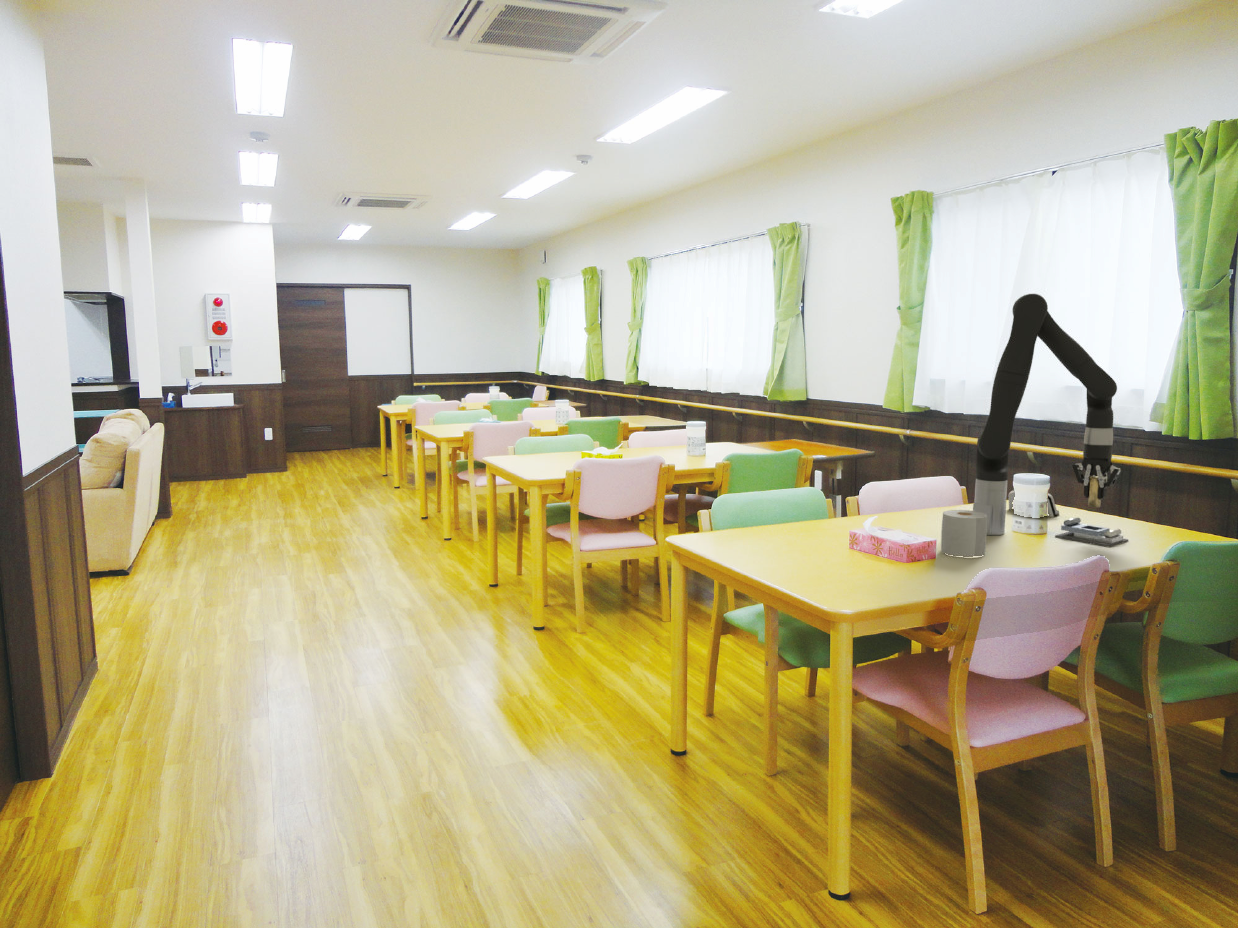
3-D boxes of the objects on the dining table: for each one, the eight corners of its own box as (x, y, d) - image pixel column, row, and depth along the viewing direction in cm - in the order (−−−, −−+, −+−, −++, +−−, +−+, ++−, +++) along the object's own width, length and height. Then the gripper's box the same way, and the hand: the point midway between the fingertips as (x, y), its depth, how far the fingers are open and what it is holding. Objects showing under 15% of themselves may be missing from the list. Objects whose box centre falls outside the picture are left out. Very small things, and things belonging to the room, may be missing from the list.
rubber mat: (1109, 547, 242) (1109, 545, 241) (1054, 536, 254) (1055, 535, 254) (1128, 541, 248) (1128, 539, 248) (1074, 531, 261) (1074, 530, 261)
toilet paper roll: (955, 559, 230) (957, 519, 228) (932, 549, 242) (934, 510, 240) (994, 557, 232) (996, 517, 230) (969, 547, 244) (971, 508, 242)
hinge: (1060, 515, 285) (1056, 489, 282) (1052, 521, 283) (1048, 495, 280) (1017, 507, 300) (1012, 483, 297) (1009, 513, 298) (1004, 488, 295)
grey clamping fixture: (1111, 543, 243) (1113, 528, 243) (1060, 534, 255) (1061, 519, 255) (1122, 540, 247) (1124, 524, 247) (1072, 531, 259) (1073, 516, 259)
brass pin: (1096, 507, 248) (1098, 478, 246) (1086, 506, 250) (1087, 477, 249) (1102, 506, 250) (1104, 477, 248) (1091, 504, 252) (1092, 476, 251)
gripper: (1068, 441, 251) (1064, 496, 253) (1117, 445, 239) (1113, 503, 242) (1080, 439, 255) (1077, 493, 257) (1129, 443, 243) (1125, 500, 246)
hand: (1094, 498), depth 250 cm, fingers closed on brass pin, 3 cm apart
